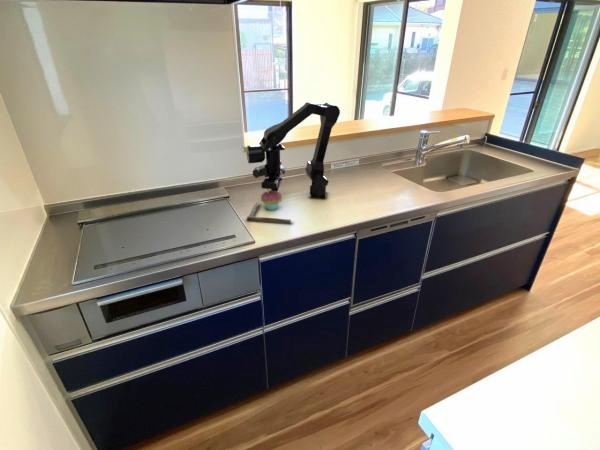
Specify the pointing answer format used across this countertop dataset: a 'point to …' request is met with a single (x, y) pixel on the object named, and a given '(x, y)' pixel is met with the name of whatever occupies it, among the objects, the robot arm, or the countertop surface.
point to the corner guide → (262, 219)
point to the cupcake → (271, 199)
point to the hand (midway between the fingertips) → (274, 195)
